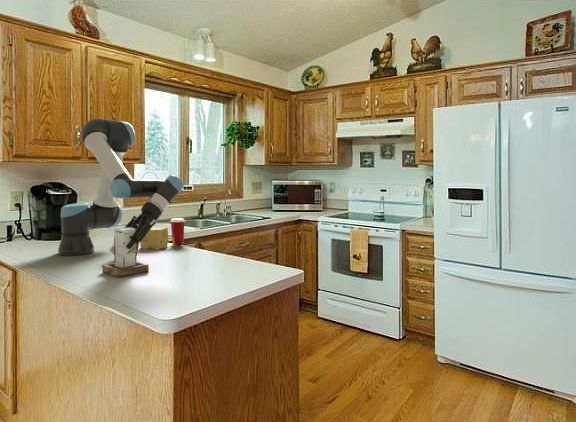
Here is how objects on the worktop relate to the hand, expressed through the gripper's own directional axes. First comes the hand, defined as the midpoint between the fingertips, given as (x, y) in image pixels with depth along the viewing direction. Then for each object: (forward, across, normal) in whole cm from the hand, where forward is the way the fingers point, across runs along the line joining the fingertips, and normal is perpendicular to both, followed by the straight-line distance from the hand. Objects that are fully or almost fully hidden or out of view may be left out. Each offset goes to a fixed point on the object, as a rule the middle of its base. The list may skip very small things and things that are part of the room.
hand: (116, 253), depth 148 cm
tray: (+3, 0, -8) cm, 9 cm away
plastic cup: (-9, +28, -20) cm, 36 cm away
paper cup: (-32, +39, -44) cm, 67 cm away
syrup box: (+1, 0, -7) cm, 7 cm away
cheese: (-23, +41, -34) cm, 58 cm away
